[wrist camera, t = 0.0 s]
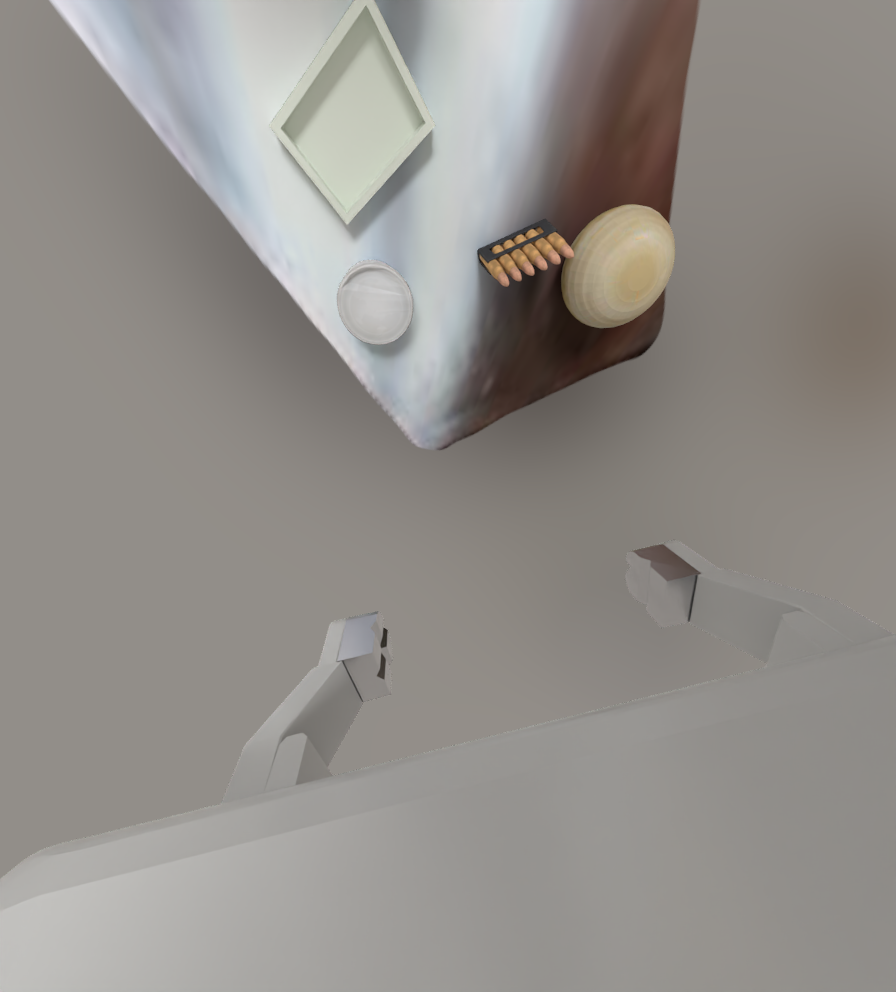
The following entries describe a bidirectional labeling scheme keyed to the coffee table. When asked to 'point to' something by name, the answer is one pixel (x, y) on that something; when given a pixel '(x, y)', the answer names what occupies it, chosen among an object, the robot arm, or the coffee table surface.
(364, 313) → the ramekin
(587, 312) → the decorative ball
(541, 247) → the ammunition clip
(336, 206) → the tray
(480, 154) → the coffee table surface
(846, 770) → the robot arm
